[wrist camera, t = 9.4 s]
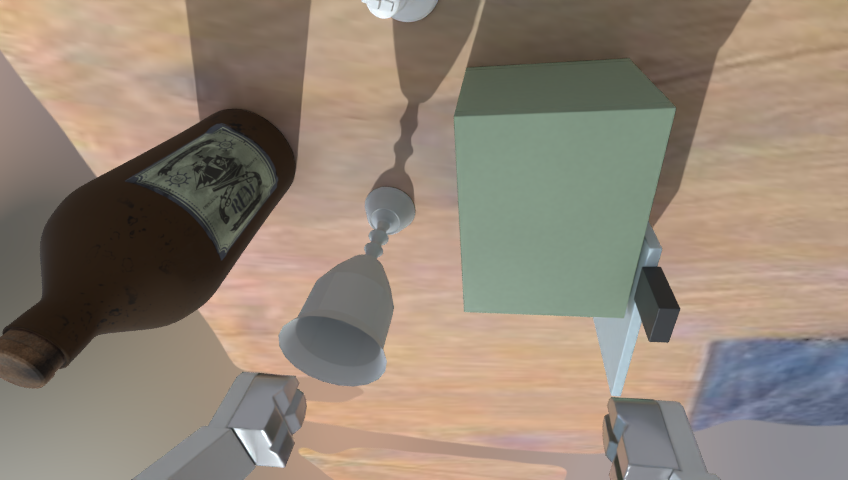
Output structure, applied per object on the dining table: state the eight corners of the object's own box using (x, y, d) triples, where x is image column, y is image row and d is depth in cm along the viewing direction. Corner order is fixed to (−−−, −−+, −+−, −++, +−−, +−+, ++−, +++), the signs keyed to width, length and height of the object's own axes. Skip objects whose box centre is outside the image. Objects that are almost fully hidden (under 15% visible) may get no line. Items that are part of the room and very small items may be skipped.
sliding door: (628, 173, 36) (687, 290, 25) (600, 309, 46) (634, 441, 34) (613, 173, 37) (664, 289, 25) (588, 309, 46) (618, 439, 34)
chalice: (347, 222, 44) (272, 364, 30) (362, 167, 40) (285, 301, 26) (414, 246, 45) (372, 397, 30) (436, 194, 41) (399, 340, 26)
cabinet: (629, 58, 32) (677, 107, 23) (598, 235, 41) (624, 318, 32) (466, 67, 34) (453, 116, 25) (471, 234, 43) (464, 312, 34)
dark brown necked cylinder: (258, 220, 46) (69, 446, 26) (174, 143, 42) (-127, 341, 22) (324, 169, 41) (155, 399, 21) (237, 76, 37) (-77, 253, 17)
